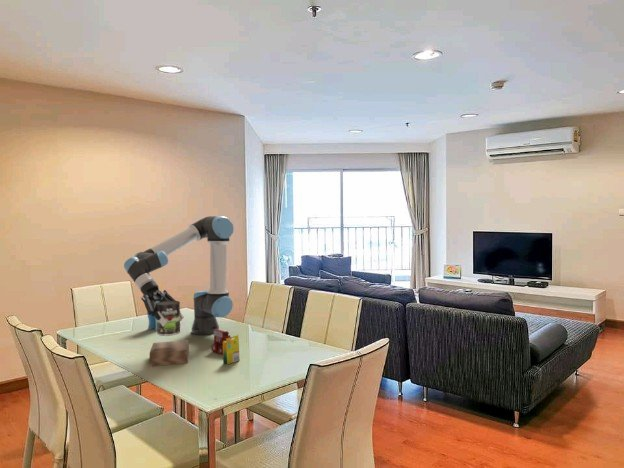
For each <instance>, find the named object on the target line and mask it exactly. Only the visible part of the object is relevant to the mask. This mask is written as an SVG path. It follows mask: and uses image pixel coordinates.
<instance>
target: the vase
mask: <svg viewBox="0 0 624 468" xmlns="http://www.w3.org/2000/svg"><path fill="white" fill-rule="evenodd" d="M162 298H163V297H162ZM162 298H161V299H162ZM149 301H150V300H149ZM158 302H159V301H156V303H158ZM146 315H147V319H148V326H147V330H151V329H155V332H157V319H156V317H155V316H151V315H152V314H151V315H149V314H148V312H147V311H146Z"/></svg>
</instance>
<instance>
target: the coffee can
mask: <svg viewBox="0 0 624 468" xmlns="http://www.w3.org/2000/svg"><path fill="white" fill-rule="evenodd" d="M156 305H157V312H158V311H159V312H160V313H161V314H162V316H163V317H164V319H165V320H166V321H167V323H166V324H165V326H162V325H161V323H160V322H159V320H157V331H156V333H157V335H158V336H161V337H169V336H170V337H171V336H176V335H178V334H180V333H181V321H180V312H181V306H180V305H181V302H180V301H178V300H176V301H161V302H158V303H156Z"/></svg>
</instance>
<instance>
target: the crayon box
mask: <svg viewBox="0 0 624 468" xmlns="http://www.w3.org/2000/svg"><path fill="white" fill-rule="evenodd" d="M230 339H231V340H230ZM222 361H223V364H225V365H230V364H232V363H236V362H238V361H240V341H239V334H237V335H234V336H230V338H227V339H226V341H224V342H223V355H222Z"/></svg>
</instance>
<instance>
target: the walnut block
mask: <svg viewBox="0 0 624 468" xmlns="http://www.w3.org/2000/svg"><path fill="white" fill-rule="evenodd" d="M189 347H190V346H189V339H186V340H185V339H184V340H175V341H174V340H173V341H160V342H153V343H152V345H151V348H150V351H149V367H159V366H160V367H161V366H169V365H179V364H188V363H189V353H190V348H189Z"/></svg>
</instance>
